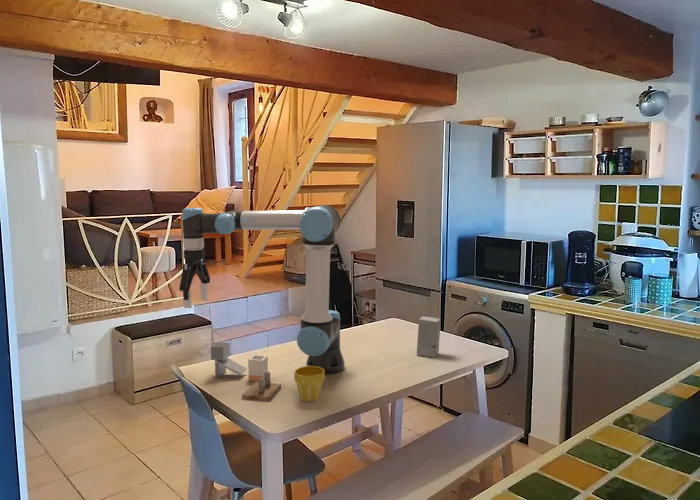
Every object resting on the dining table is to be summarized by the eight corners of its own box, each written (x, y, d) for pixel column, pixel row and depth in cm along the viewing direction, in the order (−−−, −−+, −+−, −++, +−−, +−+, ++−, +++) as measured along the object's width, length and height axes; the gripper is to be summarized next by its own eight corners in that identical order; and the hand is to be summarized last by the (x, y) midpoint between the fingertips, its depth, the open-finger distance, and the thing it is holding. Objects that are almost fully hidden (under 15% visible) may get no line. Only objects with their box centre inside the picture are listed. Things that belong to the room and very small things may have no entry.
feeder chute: (246, 374, 214) (246, 343, 212) (240, 379, 208) (239, 348, 207) (218, 371, 216) (217, 342, 215) (211, 377, 211) (210, 346, 209)
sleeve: (268, 375, 212) (267, 355, 211) (262, 381, 207) (262, 360, 206) (254, 374, 213) (253, 354, 212) (248, 380, 208) (248, 359, 207)
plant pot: (294, 392, 196) (294, 365, 195) (324, 391, 197) (324, 364, 196) (294, 404, 186) (294, 376, 185) (325, 403, 187) (325, 375, 186)
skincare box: (416, 355, 235) (417, 319, 233) (420, 350, 241) (421, 315, 239) (436, 358, 232) (437, 321, 230) (440, 353, 238) (440, 317, 236)
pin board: (281, 387, 200) (280, 370, 200) (269, 401, 189) (269, 382, 188) (254, 385, 202) (254, 368, 202) (242, 398, 191) (241, 380, 190)
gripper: (199, 244, 224) (202, 296, 227) (167, 253, 199) (170, 311, 202) (217, 244, 222) (219, 296, 225) (186, 253, 198) (189, 312, 201)
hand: (196, 303), depth 214 cm, fingers open, 13 cm apart
